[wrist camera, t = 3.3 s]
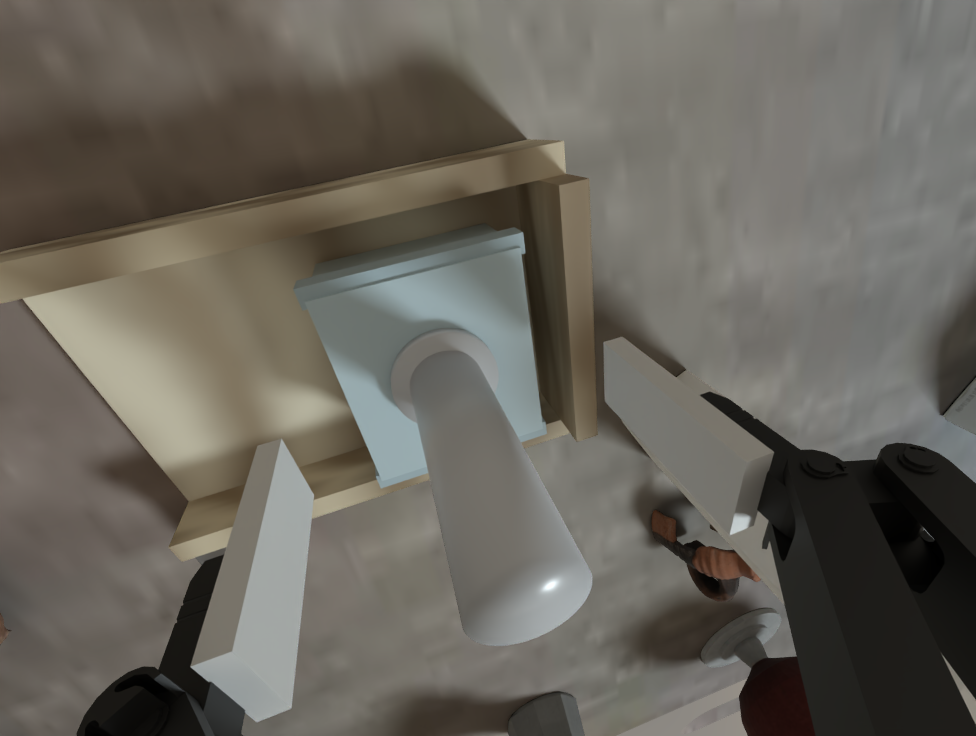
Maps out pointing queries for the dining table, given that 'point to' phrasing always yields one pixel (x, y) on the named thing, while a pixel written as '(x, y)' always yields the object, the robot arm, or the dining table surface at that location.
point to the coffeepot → (547, 717)
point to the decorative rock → (3, 630)
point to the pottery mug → (704, 561)
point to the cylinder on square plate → (456, 413)
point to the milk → (758, 534)
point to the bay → (296, 318)
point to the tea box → (964, 409)
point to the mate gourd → (762, 676)
